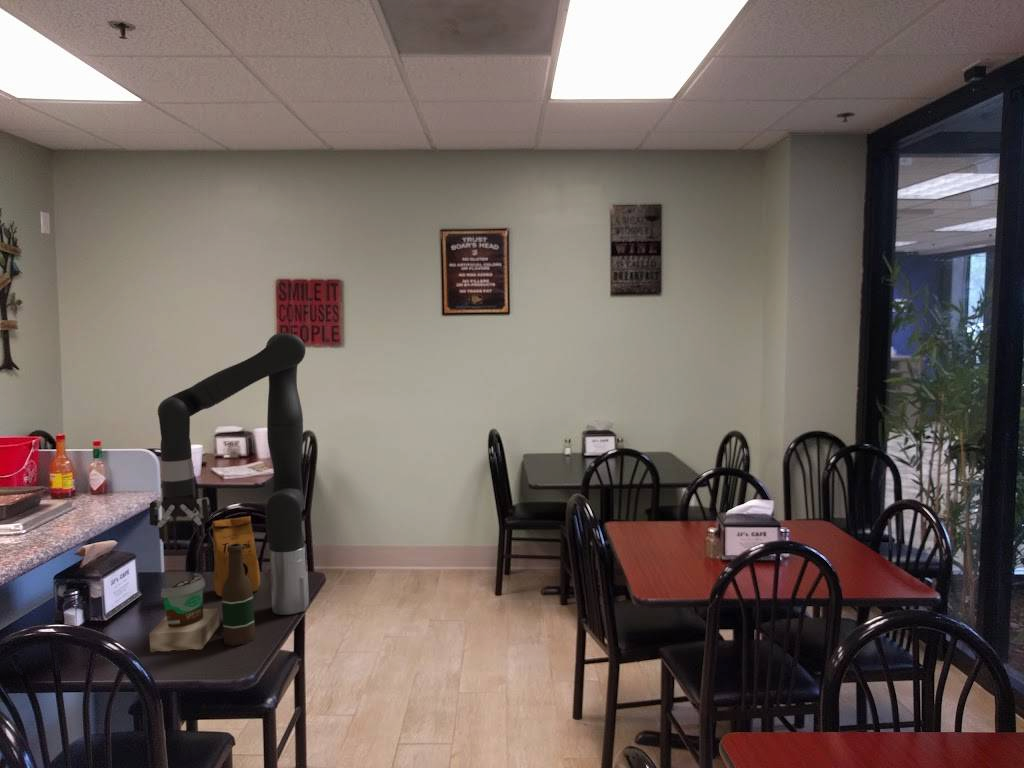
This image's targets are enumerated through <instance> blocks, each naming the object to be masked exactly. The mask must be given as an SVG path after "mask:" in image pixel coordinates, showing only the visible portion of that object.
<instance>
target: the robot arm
mask: <svg viewBox="0 0 1024 768" xmlns="http://www.w3.org/2000/svg"><path fill="white" fill-rule="evenodd" d="M305 345H306V344H305V342H304V341H303V339H301V338H300V337H299V336H298V335H295V334H293V333H287V332H279V333H276V334H274V335H272V336H271V337H270V338H269V339H268V340H267V342H266V345H265V347H264V348H263V349H262V350H260V351H259V352H257V353H256V354H254V355H252V356H250V357H249V358H247V359H244V360H243V361H241V362H239V363H236V364H234V365H232V366H231V365H230V366H228V367H226V368H223V369H221V370H219V371H217V372H215V373H213V374H212V375H209V376H207V377H205V378H204V379H202V380H200V381H199V382H197V383H195V384H193V385H192V386H191V387H188V388H186V389H184V390H182V391H179V392H177V393H175V394H172V395H170V396H168V397H167V398H165V399H163V400H162V401H161V402H160V403H159V405H158V407H157V417H158V421H159V422H158V423H159V430H160V438H161V439H160V460H161V463H160V464H161V465H160V478H161V491H162V500H157V499H154V500H152V501H151V502H150V503H149V525H150V526H156V527H158V538H159V540H161V542H162V543H163V542H167V541H168V526H167V525H166V523H167V522H168V520H169V519H170V518H171V517H172V518H178V517H180V518H181V517H182V518H186V517H188V518H190V519H191V520H192V521H194V522H195V523H196V527H195V528H196V540H201V539H202V538H203V537H204V536H205V534H206V533H205V532H206V531H205V523H208V522H210V521H211V520H212V511H211V510H212V509H211V503H210V497H208V496H205V497H203V498H197V495H196V483H195V482H196V481H195V470H194V468H195V467H194V462H193V458H192V457H193V455H192V443H191V438H190V433H191V430H190V429H191V419H190V418H191V417H192V416H193V415H196V414H197V413H199V412H201V411H203V410H205V409H206V410H207V409H210V408H213V407H214V406H216V405H218V404H220V403H221V402H224V401H225V400H227V399H228V398H230V397H232V396H234V395H235V394H237V393H239V392H240V391H242V390H244V389H246V388H247V387H249V386H251V385H252V384H255V383H256V382H259V381H260V380H262V379H265V378H267V377H268V397H267V417H266V418H267V419H266V420H267V421H266V423H267V424H266V425H267V426H266V427H267V430H266V433H267V445H268V450H269V455H270V458H271V462H272V469H273V476H272V477H273V478H272V481H273V482H272V491H271V495H270V497H269V498H268V500H267V502H266V503H265V510H264V511H265V528H266V529H265V530H266V537H267V542H268V551H269V569H270V586H271V587H270V590H271V606H272V607H271V610H272V612H273V614H276V615H280V616H288V615H295V614H298V613H303V612H306V611H307V609H308V607H309V604H310V596H309V595H310V594H309V593H310V592H309V576H308V575H309V573H308V572H309V571H308V570H306V566H307V565H306V548H305V545H306V544H305V535H304V534H303V524H302V523H303V522H302V521H303V519H302V512H303V510H304V507H305V496H304V489H303V482H302V481H303V479H302V478H303V477H302V458H303V444H304V441H303V440H304V417H303V409H302V404H301V399H300V395H299V391H298V383H297V380H298V375H297V374H298V365H300V363H301V362H303V360H304V358H305V356H306V346H305ZM197 504H198V505H199V507H200V508H202V514H203V515H201V514H200V511H199V510H197V508H196V506H197ZM161 507H162V508H163V509H164V510H165V512H164V513H163V515H162V517H161V518H160V519H159V510H160V509H161Z"/></svg>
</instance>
